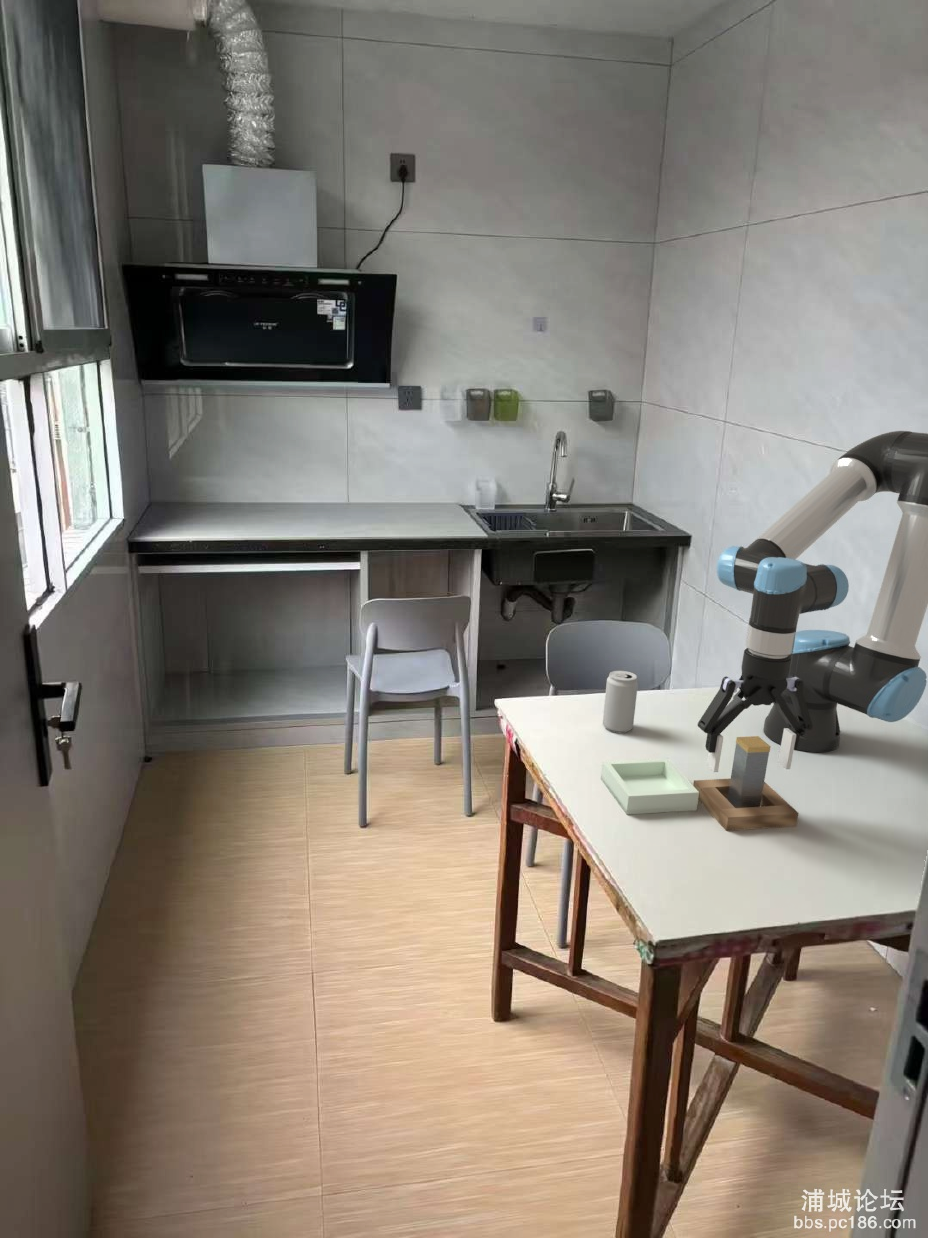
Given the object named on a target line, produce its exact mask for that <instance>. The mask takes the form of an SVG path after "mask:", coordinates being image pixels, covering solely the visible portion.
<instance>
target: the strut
mask: <svg viewBox="0 0 928 1238" xmlns="http://www.w3.org/2000/svg"><path fill="white" fill-rule="evenodd" d="M770 751H771V745H769V744H768V743H767V742H766V741H765V740H764V739H763V738H761V737H760V736H758V735H757V736H751V735H750V736H736V741H735V748H734V755H733V763H732V768H731V775H730V778H731V779H730V778H729V779H730V786H729V792H728V798H727V800H728V801H729V802H730V803H731V804H732V805H733V806H734V807H735V808H748V807H761V806H760V803H761V798H762V792H763V786H764V782H765V779H766V773H767V767H768V761H769V757H770V756H769V755H770Z"/></svg>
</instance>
